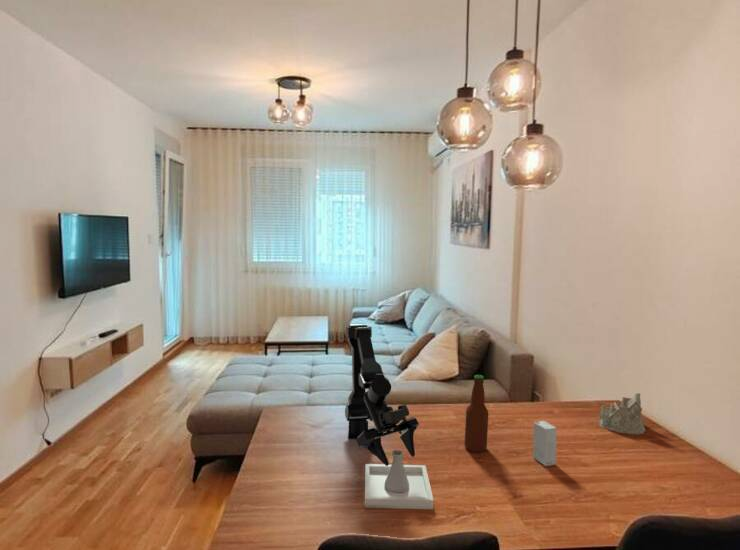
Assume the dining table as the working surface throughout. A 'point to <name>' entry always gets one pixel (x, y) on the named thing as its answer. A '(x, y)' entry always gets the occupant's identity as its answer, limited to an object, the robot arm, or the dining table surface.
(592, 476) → the dining table surface
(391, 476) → the flask
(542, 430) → the skincare box
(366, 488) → the tray
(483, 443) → the bottle
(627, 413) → the grey rock
